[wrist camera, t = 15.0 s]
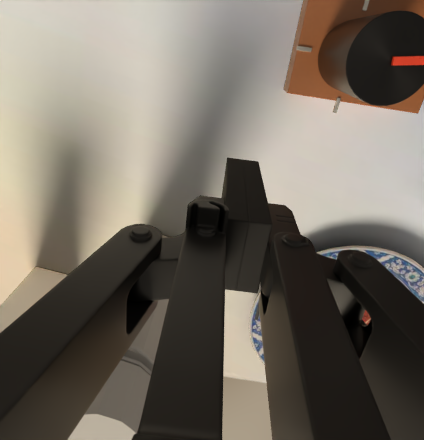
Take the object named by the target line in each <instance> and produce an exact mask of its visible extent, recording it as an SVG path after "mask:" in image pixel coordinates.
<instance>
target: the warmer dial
mask: <svg viewBox="0 0 424 440" xmlns="http://www.w3.org/2000/svg"><path fill="white" fill-rule="evenodd" d="M318 68H319V72H320V74H321V76H322V78H323V79H324V81H325V82H326V83H327V84H328V85H329V86H331V87H333V88H335V89H337V90H339V91H341V92H343V93H346V94H348V95H350V96H352V97H354V98H357V99H359V100H361V101H363V102H365V103H368V104H371V105H375V106H389V105H394V104H397V103H399V102H402V101H404V100H406V99H407V98H409V97H410V96H412V95H413V94H414V93H416V92H417V91H418V90H419V89H420V88H421V87H422V86H423V84H424V18H423V17H422V16H420V15H418V14H416V13H413V12H410V11H402V10H399V11H391V12H386V13H382V14H377V15H372V16H367V17H362V18H357V19H352V20H348V21H345V22H343V23H341V24H339V25H337V26H336V27H335V28H333V29H332V30H331V31H330V32H329V33H328V34H327V36H326V37H325V39H324V40H323V42H322V44H321V47H320V50H319V54H318Z"/></svg>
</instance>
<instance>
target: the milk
mask: <svg viewBox="0 0 424 440" xmlns="http://www.w3.org/2000/svg"><path fill="white" fill-rule="evenodd" d="M66 276H67V274H63V273H59V272H55V271H51V270H47V269H43V268H39V267H35V268H34V269H33V270H32V271H31V272H30V273H29V275H28V276H27V277H26V278H25V279H24V280H23V281H22V282H21V284H20V285H19V286H18V287H17V288H16V289H15V290H14V291H13V292H12V294H11V295H10V296H9V297H8V298H7V299H6V300H5V301H4V303H3V304H2V305H1V306H0V333H1V332H2V331H3V330H4V329H5V328H7V327H8V326H9V325H10V324H11V323H13V322H14V321H15V320H16V319H17V318H18V317H20V316H21V315H22V314H23V313H24V312H25V311H27V310H28V309H29V308H30V307H31V306H32V305H34V304H35V303H36V302H37V301H38V300H39V299H41V298H42V297H43V296H44V295H45V294H46V293H48V292H49V291H50V290H51V289H52V288H53V287H55V286H56V285H57V284H58V283H59V282H60V281H62V280H63V279H64V278H65V277H66Z"/></svg>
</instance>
